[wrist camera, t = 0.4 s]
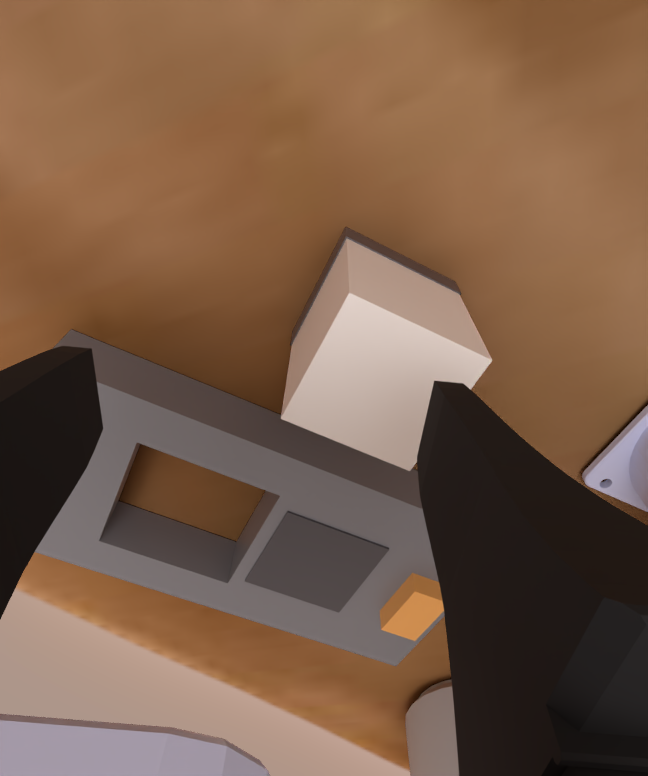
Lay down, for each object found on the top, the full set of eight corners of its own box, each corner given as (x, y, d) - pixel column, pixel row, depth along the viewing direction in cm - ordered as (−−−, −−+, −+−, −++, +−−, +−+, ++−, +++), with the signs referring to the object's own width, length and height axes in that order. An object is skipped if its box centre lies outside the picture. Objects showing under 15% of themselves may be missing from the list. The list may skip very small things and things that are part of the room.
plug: (455, 281, 20) (495, 359, 15) (393, 376, 22) (410, 472, 17) (345, 226, 19) (348, 290, 14) (292, 330, 21) (278, 419, 16)
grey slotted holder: (498, 503, 26) (519, 563, 23) (391, 623, 30) (397, 685, 27) (71, 329, 21) (28, 374, 18) (24, 500, 26) (-15, 557, 23)
